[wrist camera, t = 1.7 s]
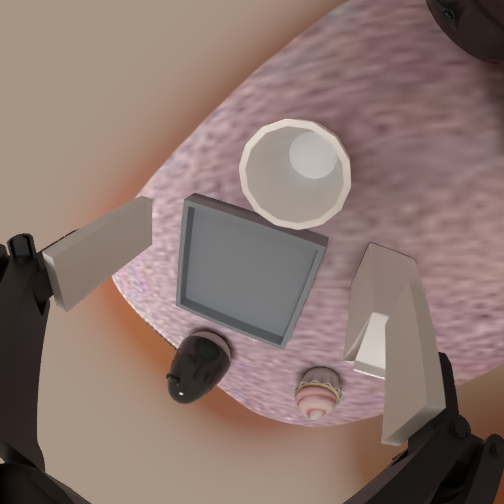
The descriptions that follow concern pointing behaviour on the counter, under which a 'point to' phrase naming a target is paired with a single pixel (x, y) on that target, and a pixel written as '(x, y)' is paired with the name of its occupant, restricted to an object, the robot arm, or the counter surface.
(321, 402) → the cupcake
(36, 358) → the robot arm
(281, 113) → the counter surface
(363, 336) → the milk carton
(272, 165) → the foam cup
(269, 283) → the tray
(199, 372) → the pump dispenser
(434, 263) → the counter surface
